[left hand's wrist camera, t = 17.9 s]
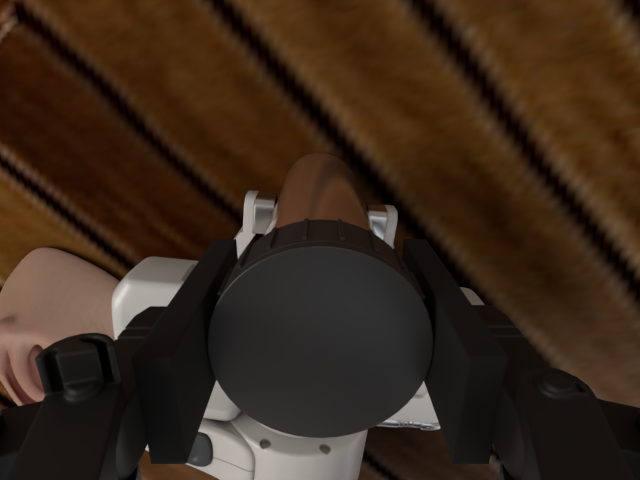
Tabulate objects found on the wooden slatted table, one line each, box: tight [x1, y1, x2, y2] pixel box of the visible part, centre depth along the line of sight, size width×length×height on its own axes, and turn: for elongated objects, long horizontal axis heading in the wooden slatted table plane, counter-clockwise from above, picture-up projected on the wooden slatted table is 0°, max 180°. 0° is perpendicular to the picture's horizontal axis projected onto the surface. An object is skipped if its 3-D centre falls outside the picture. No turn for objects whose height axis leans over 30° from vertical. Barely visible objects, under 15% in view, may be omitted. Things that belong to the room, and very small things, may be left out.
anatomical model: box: [0, 247, 120, 406], centre depth 29 cm, size 13×4×12 cm
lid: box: [207, 218, 434, 438], centre depth 11 cm, size 6×6×2 cm
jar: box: [264, 153, 376, 235], centre depth 19 cm, size 5×5×17 cm
